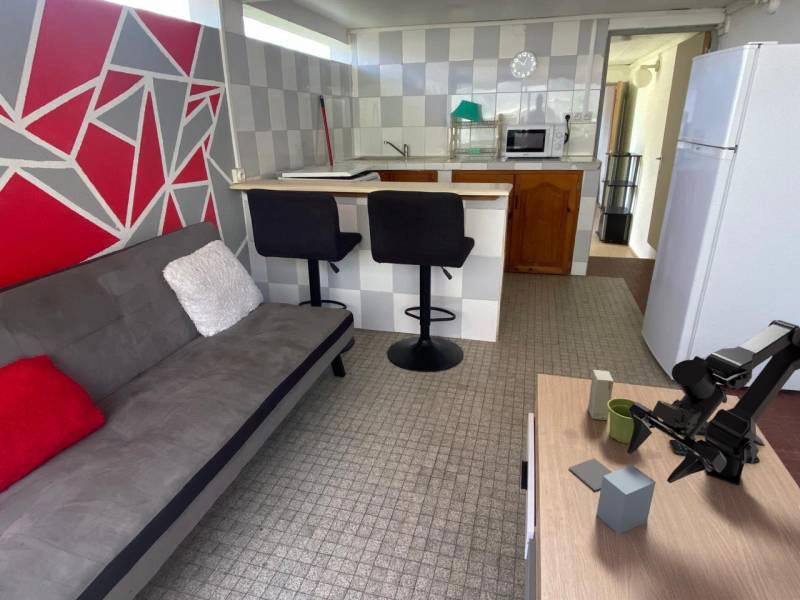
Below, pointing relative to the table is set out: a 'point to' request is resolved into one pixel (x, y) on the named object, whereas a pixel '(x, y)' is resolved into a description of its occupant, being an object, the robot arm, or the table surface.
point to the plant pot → (621, 419)
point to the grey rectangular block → (625, 498)
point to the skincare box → (600, 394)
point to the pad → (591, 473)
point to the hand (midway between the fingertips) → (647, 467)
